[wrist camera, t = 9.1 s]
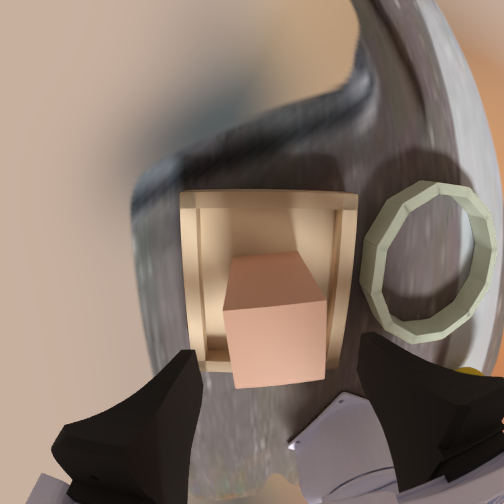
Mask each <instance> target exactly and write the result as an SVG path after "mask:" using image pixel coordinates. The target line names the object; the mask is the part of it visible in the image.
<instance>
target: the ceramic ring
mask: <svg viewBox="0 0 504 504" xmlns="http://www.w3.org/2000/svg"><path fill="white" fill-rule="evenodd" d="M438 194H445V195H450V196H451V197H452V198H453V199H454V200H455V201H456V202H457V203H458V204H459V205H460V206H461V207H462V208H463V209H464V210H465V211H466V212H467V213H468V216H469V220H470V224H471V228H472V232H473V236H474V241H475V247H474V253H473V259H472V264H471V269H470V274H469V276H468V278H467V280H466V281H465V283H464V285H463V286H462V288H461V290H460V291H459V293H458V295H457V296H456V298H455V299H454V301H453V302H452V303H450V304H449V305H448V306H446V307H445V308H444V309H442V310H441V311H439V312H438V313H437V314H435V315H434V316H432V317H431V318H429V319H423V320H414V321H405V322H402V321H401V320H399V319H397V318H396V317H394V316H392V315H391V314H390V313H389V311H388V308H387V305H386V303H385V300H384V297H383V295H382V292H381V290H382V284H383V277H384V270H385V263H386V255H387V249H388V248H389V246H390V244H391V243H392V241H393V239H394V238H395V236H396V234H397V233H398V231H399V229H400V228H401V226H402V224H403V223H404V221H405V219H406V217H407V216H408V214H409V212H411V211H413V210H414V209H416V208H417V207H419V206H421V205H422V204H424V203H426V202H427V201H429V200H430V199H432V198H433V197H435V196H437V195H438ZM496 254H497V242H496V236H495V230H494V225H493V220H492V216H491V212H490V211H489V210H488V208H487V207H486V206H485V205H484V203H483V202H482V201H481V200H480V199H479V197H478V196H477V195H476V194H475V193H474V192H473V191H472V189H471V188H470V187H465V186H459V185H452V184H446V183H439V182H431V181H422V180H420V181H418V182H416V183H414V184H413V185H411V186H409V187H408V188H406V189H404V190H402V191H401V192H399V193H397V194H396V195H394V196H392V197H390V198H389V199H387V200H386V202H385V204H384V205H383V207H382V209H381V211H380V212H379V214H378V216H377V217H376V219H375V221H374V222H373V224H372V226H371V227H370V229H369V231H368V232H367V234H366V236H365V237H364V241H363V252H362V261H361V270H360V279H359V283H360V285H361V288H362V290H363V292H364V295H365V297H366V299H367V302H368V304H369V307H370V309H371V311H372V314H373V316H374V317H375V318H376V319H377V321H378V322H379V323H380V324H381V326H382V327H383V328H384V330H386V331H388V332H390V333H391V334H393V335H395V336H397V337H399V338H400V339H402V340H404V341H406V342H408V343H410V344H417V343H423V342H429V341H435V340H441V339H443V338H445V337H446V336H447V335H449V334H450V333H451V332H453V331H454V330H455V329H457V328H458V327H459V326H461V325H462V324H463V323H465V322H466V321H467V320H468V319H470V318H471V316H472V315H473V313H474V311H475V310H476V308H477V307H478V305H479V303H480V302H481V300H482V299H483V297H484V295H485V293H486V292H487V290H488V288H489V287H490V284H491V279H492V275H493V270H494V265H495V260H496Z"/></svg>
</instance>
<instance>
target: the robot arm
mask: <svg viewBox="0 0 504 504" xmlns="http://www.w3.org/2000/svg"><path fill="white" fill-rule="evenodd" d="M357 372H358V375H359V378H360V381H361V384H362V387H363V389H364V391H365V393H366V396H367V398H368V399H365V398H362V397H359V396H356V395H353V394H350V393H347V392H343V393H341V394H340V395H339V396H338V397H337V398H336V399H335V400H334V401H333V402H332V403H331V404H330V405H329V406H328V407H327V408H326V409H325V410H324V411H323V412H322V413H321V414H320V415H319V416H318V417H317V418H316V419H315V420H314V421H313V422H312V423H311V424H310V425H309V426H308V427H307V428H306V429H305V430H303V431H302V432H301V433H300V434H299V435H298V436H297V437H296V438H295V439H294V440H292V441H291V442H290V443H289V444H288V448H289V449H293V450H295V454H296V461H297V468H298V475H299V481H300V488H301V492H302V494H303V496H304V498H305V499H306V501H307V502H308V503H309V504H503V503H504V433H503V431H502V430H504V424H503V423H502V422H501V421H502V419H503V417H504V378H503V377H491V376H479V375H472V374H467V373H462V372H458V371H454V370H450V369H447V368H444V367H441V366H438V365H436V364H433V363H431V362H428V361H426V360H424V359H422V358H420V357H418V356H416V355H414V354H412V353H410V352H408V351H406V350H404V349H403V348H401V347H399V346H398V345H396V344H394V343H393V342H391V341H389V340H388V339H386V338H384V337H383V336H381V335H379V334H377V333H375V332H369V333H363V334H361V340H360V349H359V358H358V365H357ZM202 394H203V382H202V377H201V373H200V369H199V364H198V360H197V355H196V351H195V349H193V350H181V351H180V352H179V353H178V354H177V355H176V356H175V357H174V358H173V359H172V360H171V361H170V362H169V363H168V364H167V365H166V366H165V367H164V368H163V369H162V370H161V371H160V372H159V373H158V374H157V375H156V376H155V377H154V378H153V379H152V380H151V381H149V382H148V383H147V384H146V385H145V386H144V387H142V388H141V389H140V390H139V391H137V392H136V393H134V394H133V395H132V396H130V397H129V398H127V399H126V400H124V401H122V402H121V403H119V404H117V405H115V406H114V407H112V408H110V409H108V410H106V411H104V412H102V413H100V414H97V415H95V416H92V417H90V418H87V419H84V420H81V421H78V422H74V423H71V424H67V425H64V427H63V428H62V430H61V432H60V433H59V435H58V437H57V438H56V440H55V442H54V443H53V445H52V448H51V451H52V454H53V456H54V458H55V460H56V461H57V462H58V464H59V465H60V466H61V467H62V468H63V470H64V471H65V472H66V473H67V474H68V475H69V476H70V477H71V479H72V483H71V485H69V484H67V483H65V482H63V481H61V480H59V479H56V478H54V477H51V476H49V475H46V474H44V473H41V475H40V477H39V479H38V481H37V482H36V484H35V486H34V488H33V490H32V492H31V494H30V496H29V498H28V500H27V502H26V504H187V500H188V478H189V465H190V455H191V447H192V442H193V438H194V434H195V430H196V425H197V421H198V417H199V413H200V408H201V404H202ZM340 400H341V401H340Z"/></svg>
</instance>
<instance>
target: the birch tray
mask: <svg viewBox="0 0 504 504" xmlns="http://www.w3.org/2000/svg"><path fill="white" fill-rule="evenodd" d="M357 211H358V194H354V193H350V192H342V191H320V190H287V189H209V190H186V191H183V192H180V222H181V243H182V259H183V274H184V287H185V298H186V309H187V320H188V329H189V338H190V347H191V350H193V349H195V351H196V355H197V360H198V364H199V369H200V371H209V372H232V366H231V360H230V355H229V349H228V343H227V337H226V331H225V325H224V318H223V312H222V310H223V305H224V299H225V294H226V289H227V284H228V278H229V273H230V268H231V263H232V258H233V257H240V256H250V255H260V254H271V253H281V252H291V251H298V252H299V254H300V256H301V257H302V259H303V261H304V262H305V264H306V266H307V267H308V269H309V271H310V272H311V274H312V276H313V278H314V279H315V281H316V283H317V284H318V286H319V288H320V290H321V291H322V293H323V295H324V297H325V298H326V300H327V318H326V359H325V369H336V368H338V364H339V359H340V353H341V348H342V342H343V336H344V330H345V324H346V317H347V310H348V303H349V296H350V288H351V280H352V271H353V261H354V251H355V239H356V226H357Z"/></svg>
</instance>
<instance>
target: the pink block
mask: <svg viewBox="0 0 504 504" xmlns="http://www.w3.org/2000/svg"><path fill="white" fill-rule="evenodd" d="M222 312H223V318H224V325H225V331H226V337H227V343H228V349H229V355H230V360H231V366H232V372H233V377H234V383H235V388H236V389H237V388H252V387H264V386H275V385H284V384H293V383H301V382H308V381H315V380H322V379H325V359H326V318H327V300H326V298H325V297H324V295H323V293H322V291H321V290H320V288H319V286H318V284H317V283H316V281H315V279H314V278H313V276H312V274H311V272H310V271H309V269H308V267H307V266H306V264H305V262H304V261H303V259H302V257H301V256H300V254H299V252H298V251H291V252H281V253H271V254H260V255H250V256H240V257H233V258H232V263H231V268H230V273H229V278H228V284H227V289H226V294H225V299H224V305H223V310H222Z"/></svg>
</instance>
